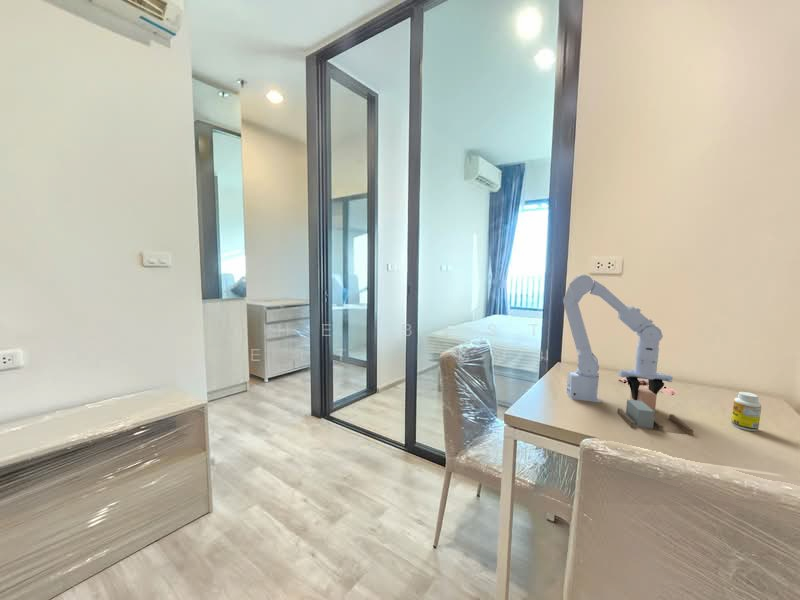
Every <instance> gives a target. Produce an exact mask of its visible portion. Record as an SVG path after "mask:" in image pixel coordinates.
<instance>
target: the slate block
mask: <svg viewBox="0 0 800 600" xmlns="http://www.w3.org/2000/svg"><path fill="white" fill-rule="evenodd" d="M625 413H626V414H627V415H628V416H629V417H630V418H631V419H632V420H633V421H634V422H635V425H636V426H637V427H644V428H652V429H653V425H654V417H655V415H656V414H655V413H656V411H655V410H652V409H651V408H650V407H648V406H647V405H646V404H645V403H644V402H642V401H636V400H630V399H626V409H625Z"/></svg>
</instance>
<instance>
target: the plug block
mask: <svg viewBox="0 0 800 600" xmlns="http://www.w3.org/2000/svg"><path fill="white" fill-rule="evenodd" d="M646 387H647V386H646V385H645V386H644V385H639V389H638V398H637V400H636V401H642V402H644V403H645V404H646V405H647V406H648V407H650V408H651V409H652V410H653V411H656V406H657V405H656V404H657V396H658V395H656V394H655V393H653V392H652V391H650V390H649V389H648V388H646ZM629 394H630V395H629V400H634V399H633V398H632V393H631V392H630V393H629Z"/></svg>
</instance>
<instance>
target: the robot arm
mask: <svg viewBox="0 0 800 600" xmlns="http://www.w3.org/2000/svg"><path fill="white" fill-rule="evenodd" d="M587 293H589V294H590V295H593V296H596V297H599V298H601V299H602V300H604V302H606V304H608V305H609V306H610V307H611V308H613V309H614V310H615V311H617V313H618V315H617V317H618V318H617V319H619V320H620V321H621V322H622V323H624V325H626V327H628V328H629V329H630V330H631V331H633V332H634V333H636V335H637V336H638V342H637V345H636V354H635V355H636V356H635V363H634V364H635V365H634V369H631V370H630V369H628V370H627V369H625V370H624V369H619V370H618V376H619V378H626V379H627V381H626V382H628V383H629V384H628V386H629V388H630V394H631V393H632V398H633V399H634V400H637V398H638V389H639V386H641V384H640V382H639V381H638V380H639V379H640V380H647V382H649V386H648V387H649V390H650V391H652V392H653V393H655V394H656V395H657V394H658V393H659V392H660V391H659V390H660V389H661V388H662V387H663V386H664V387H665V383H664V382H668V383H673V376H672V375H670V374H666V373H665V374H664V373H660V372H659V373H658V372H657V370H658V362H659V352H660V348H659V347H660V346H659V345H660V341H661V340H662V339H663V337H664V335H663V333H662V330H661V329H660V327H659V326H656V324H655V323H653V322H654V321H653V320H652V319H651V318H650V319H648V318H647V317H646V316H645V315H644V314H643V313H641V308H639V307H635V306H633V305H632V306H631V305H625V303H623V301H621V299H619V298H618V297H617V296H616V295H614V293H612V292H611V291H610V290H609V289H608V288H607V287H606V286H605V285H603V284H602V283H600V282H599V281H596V280H595V279H593V277H592V276H590V275H587V274H580V275H578V276H576V277H574V279H572V280H571V282H570V283H569V285H568V287H567V290H566V292H565V295H564V296H563V298H562V302H563V307H564V309H565V314H566V316H567V319H568V324H569V327H570V330H571V333H572V337H573V342H574V347H575V349H576V353H577V369H575V371H573V372H572V371H570V372H568V374H567V381H566V391H565V393H566V394H567V395H568V396H569V398H570V399H571V400H577V401H586V402H593V403H602V400H600V399H599V398H598V390H599V379H600V374H599V370H600V365H599V359H598V357H597V356H596V355H595V354H594V353H593V350H592V347H591V344H590V340H589V336H588V334H587V330H586V325H585V323H584V320H583V315H582V312H581V309H580V305H579V303H580V301H581V300H582V299H583V297H584V296H585V295H586V294H587ZM657 396H658V395H657Z"/></svg>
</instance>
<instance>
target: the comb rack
mask: <svg viewBox="0 0 800 600" xmlns="http://www.w3.org/2000/svg"><path fill="white" fill-rule="evenodd" d="M616 413H617V414H618V416H619V417H620V418H621V419H622V420H623V421H624V423H626V424H627V425H628V426H629V427H630V428H633V429H639V430H641V429H642V430H648V431H656V432H665V433H673V434H679V435H680V434H681V435H687V436H694V429H693V428H691V427H690V426H689V425H687V424H686V423H685V422H683V421H682V420H681V419H680V418H678V416H675V415H674V414H671V413H670V414H669V417H668V418H665V417H664V418H663V417H656V416H654V425H653V429H652V428H644V427H637V426H636V425H635V422H634V421H633V420H632V419H631V418H630V417H629V416H628V415H627V414H626V411H624V410H623V408H617V411H616Z"/></svg>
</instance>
